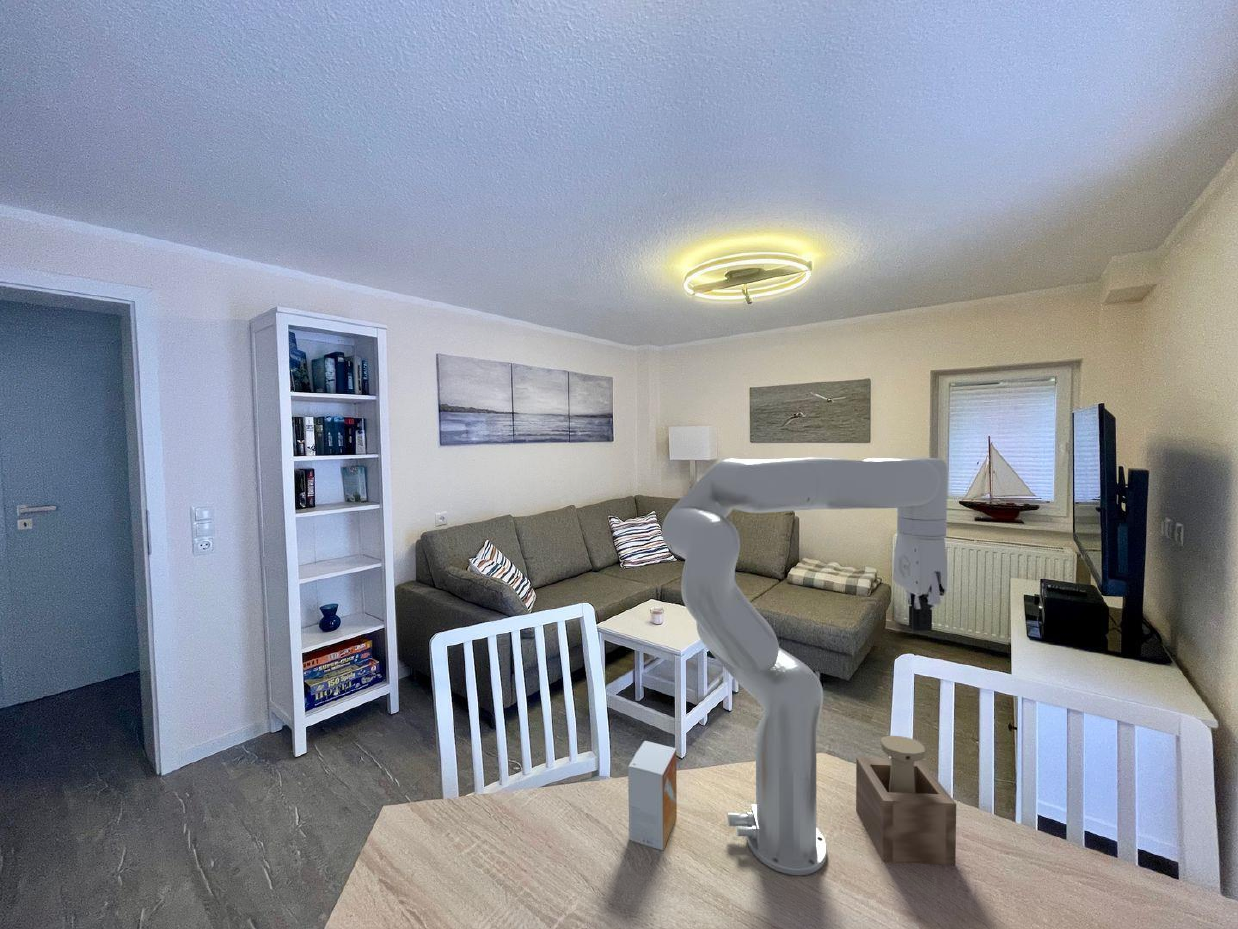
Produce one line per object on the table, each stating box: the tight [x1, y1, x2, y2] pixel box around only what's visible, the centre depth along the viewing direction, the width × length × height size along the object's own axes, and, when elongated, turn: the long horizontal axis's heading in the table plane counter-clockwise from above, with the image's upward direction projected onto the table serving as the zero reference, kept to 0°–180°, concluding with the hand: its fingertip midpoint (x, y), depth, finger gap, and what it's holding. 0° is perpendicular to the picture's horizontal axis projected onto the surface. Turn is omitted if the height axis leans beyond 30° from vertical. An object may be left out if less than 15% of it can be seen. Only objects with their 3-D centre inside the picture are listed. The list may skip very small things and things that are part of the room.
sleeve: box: [855, 756, 957, 866], centre depth 85 cm, size 11×11×10 cm
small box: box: [627, 740, 678, 851], centre depth 87 cm, size 8×6×13 cm
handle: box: [880, 735, 926, 793], centre depth 85 cm, size 5×6×15 cm
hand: (920, 628), depth 90 cm, fingers closed
